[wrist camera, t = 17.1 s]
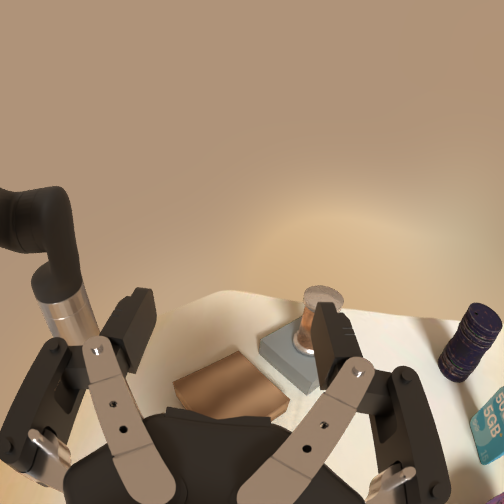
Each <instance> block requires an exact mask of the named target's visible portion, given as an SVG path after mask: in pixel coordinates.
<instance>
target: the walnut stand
mask: <svg viewBox="0 0 504 504" xmlns="http://www.w3.org/2000/svg"><path fill="white" fill-rule="evenodd" d="M173 385H174V389H175V392H176V395H177V397H178V398H179V400H180V401H181V403H182V404H183V405H184V407H185V408H186V410H191V411H194V412H197V413H200V414H203V415H205V416H208V417H211V418H214V419H226V418H233V417H240V416H262V417H271V421H273V420H274V419H276V418H277V417H279V416H280V415H281V414H283V413H284V412H286V410H287V407H288V404H289V401H290V399H289V398H288V397H287V396H286V395H285V394H283V393H282V392H281V391H280V390H279V389H278V388H277V387H276V386H275V385H274V384H273V383H271V382H270V381H269V380H268V379H267V378H266V377H265V376H264V375H263V374H262V373H261V372H260V371H259V370H258V369H257V368H256V367H255V366H254V365H253V364H252V363H250V362H249V361H248V360H247V359H246V358H245V357H244V356H243V355H242V354H241V353H240V352H239V351H237V352H235V353H233V354H231V355H229V356H227V357H225V358H223V359H221V360H219V361H217V362H215V363H213V364H211V365H209V366H207V367H205V368H203V369H201V370H198V371H196V372H194V373H192V374H190V375H187V376H185V377H183V378H181V379H179V380H176V381H174V382H173Z"/></svg>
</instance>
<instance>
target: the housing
mask: <svg viewBox="0 0 504 504" xmlns="http://www.w3.org/2000/svg"><path fill="white" fill-rule="evenodd" d="M318 302H333V303H334V304H335V307H336V310H337V313H339V312H340V311H341V309H342V306H343V302H344V300H343V297H342V295H341V294H340V293H339V292H338V291H336V290H334V289H332V288H330V287H326V286H312V287H309V288H308V289H306V291H305V294H304V298H303V303H304V305H305V309H304V313H303V317H302V320H301V324H300V328H299V330H298V331H297V332H296V333H295V335H294V338H293V346H294V348H295V350H296V351H297V352H299V353H300V354H302V355H304V356H308V357H314V352H313V346H312V341H311V334H310V331H311V324H312V320H313V317H314V313H315V309H316V305H317V303H318Z"/></svg>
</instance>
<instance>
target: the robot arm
mask: <svg viewBox="0 0 504 504" xmlns="http://www.w3.org/2000/svg"><path fill="white" fill-rule="evenodd" d="M0 247H2V248H5V249H8V250H11V251H15V252H18V253H24V254H28V253H42V252H47V255H48V259H49V261H48V262H46V263H45V264H44V265H42V266H41V267H39V268H38V269H37V270H36V272H35V273H34V274H33V276H32V279H31V286H32V289H33V292H34V295H35V297H36V300H37V302H38V304H39V307H40V309H41V311H42V314H43V316H44V318H45V320H46V323H47V325H48V327H49V329H50V331H51V333H52V335H53V337H54V338H51V339H49V340H48V341H47V342H46V343H45V344H44V345H43V347H42V349H41V350H40V352H39V354H38V356H37V357H36V359H35V361H34V363H33V364H32V366H31V368H30V370H29V371H28V373H27V375H26V377H25V379H24V381H23V383H22V385H21V387H20V389H19V391H18V393H17V395H16V397H15V399H14V401H13V403H12V405H11V407H10V410H9V412H8V414H7V416H6V419H5V421H4V423H3V426H2V428H1V431H0V459H1V460H2V461H3V462H5V463H6V464H8V465H9V466H10V467H12V468H13V469H14V470H15V471H17V472H18V473H20V474H22V475H23V476H25V477H26V478H28V479H30V480H32V481H34V482H36V483H38V484H40V485H42V486H44V487H51V488H53V489H55V490H58V491H60V492H62V493H64V497H65V500H66V504H445V503H446V502H447V500H448V499H449V497H450V494H451V484H450V479H449V475H448V470H447V466H446V462H445V458H444V454H443V450H442V446H441V442H440V439H439V435H438V432H437V429H436V425H435V422H434V419H433V416H432V413H431V410H430V407H429V404H428V401H427V398H426V395H425V392H424V389H423V387H422V384H421V381H420V379H419V376H418V374H417V373H416V372H415V371H414V370H413V369H412V368H410V367H407V366H399V367H397V368H395V369H394V370H393V372H392V373H390V372H385V371H380V370H376V369H374V367H373V365H372V363H371V362H370V361H368V360H367V359H365V358H363V356H362V353H361V350H360V347H359V344H358V342H357V339H356V336H355V335H354V334H355V333H354V331H353V329H352V325H351V323H350V320H349V319H348V318H347V316H346V315H345V314H344V313H337V310H336V307H335V304H334V303H333V302H318V303H317V305H316V309H315V313H314V317H313V320H312V324H311V331H310V334H311V341H312V346H313V352H314V357H315V362H316V368H317V373H318V379H319V384H320V390H326V392H323V394H322V395H321V396H320V397H319V399H318V400H317V402H316V403H315V404H314V406H313V407H312V408H311V410H310V411H309V412H308V414H307V415H306V416H305V417H304V419H303V420H302V421H301V422H300V424H299V425H298V426H297V427H296V429H295V430H294V431H293V432H291V431H289V430H287V429H286V428H283V427H281V426H279V425H276V424H272V423H271V417H262V416H240V417H233V418H226V419H214V418H211V417H208V416H205V415H203V414H200V413H197V412H194V411H191V410H184V409H178V408H172V407H167V409H166V413H161V414H156V415H152V416H149V417H146V418H143V416H142V414H141V412H140V410H139V408H138V406H137V403H136V401H135V399H134V397H133V395H132V392H131V390H130V388H129V385H128V383H127V381H126V378H125V377H126V375H127V373H128V372H129V373H133V374H136V371H137V369H138V366H139V364H140V361H141V358H142V356H143V353H144V351H145V348H146V346H147V344H148V341H149V339H150V336H151V334H152V331H153V329H154V327H155V324H156V318H157V314H156V308H155V302H154V297H153V291H152V290H151V289H147V288H139V287H137V288H136V289H135V290H134V292H133V294H132V295H131V297H130V296H126V297H125V298H123V299H122V300H121V301H120V302H119V303H118V304H117V306H116V308H115V310H114V311H113V313H112V315H111V316H110V317H109V319H108V321H107V322H106V324H105V326H104V327H103V329H102V331H101V332H100V331H99V328H98V325H97V322H96V320H95V317H94V314H93V311H92V308H91V305H90V302H89V299H88V296H87V293H86V289H85V286H84V283H83V279H82V276H81V271H80V263H79V254H78V250H77V245H76V238H75V232H74V224H73V216H72V209H71V205H70V200H69V197H68V195H67V193H66V191H65V190H64V189H63V188H62V187H59V186H52V187H45V188H39V189H34V190H28V191H23V192H12V191H7V190H5V189H2V188H0ZM58 382H59V383H58ZM86 389H89V391H90V394H91V397H92V401H93V404H94V407H95V410H96V413H97V416H98V419H99V422H100V425H101V428H102V430H103V433H104V436H105V438H106V441H107V444H105V445H103V446H102V447H100V448H99V449H97V450H96V451H94V452H92V453H91V454H89V455H88V456H86V457H84V458H83V459H81V460H79V461H78V462H76V463H74V464H73V465H72V466H71V454H70V450H69V448H68V447H67V442H68V439H69V436H70V433H71V430H72V427H73V424H74V421H75V418H76V415H77V412H78V410H79V407H80V404H81V402H82V399H83V396H84V394H85V391H86ZM356 412H359V413H365V414H369V418H370V423H371V429H372V434H373V440H374V446H375V452H376V459H377V466H378V473H379V474H378V475H377V476H375V477H374V478H373V479H372V481H371V483H370V486H369V494H368V496H367V498H366V499H365V500H364V499H363V498H362V497H361V496H360V495H359V494H358V493H357V492H356V491H355V490H354V489H352V488H351V487H350V486H349V485H348V484H347V483H346V482H344V481H343V480H342V479H341V478H340V477H339V476H338V475H337V474H335V473H334V472H333V471H332V470H331V469H330V468H329V467H328V466H327V465H326V464H325V463H324V462H325V461H326V459H327V458H328V456H329V455H330V453H331V452H332V450H333V449H334V447H335V446H336V444H337V443H338V441H339V440H340V438H341V436H342V435H343V433H344V432H345V430H346V428H347V427H348V425H349V423H350V422H351V420H352V418H353V416H354V415H355V413H356Z"/></svg>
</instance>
